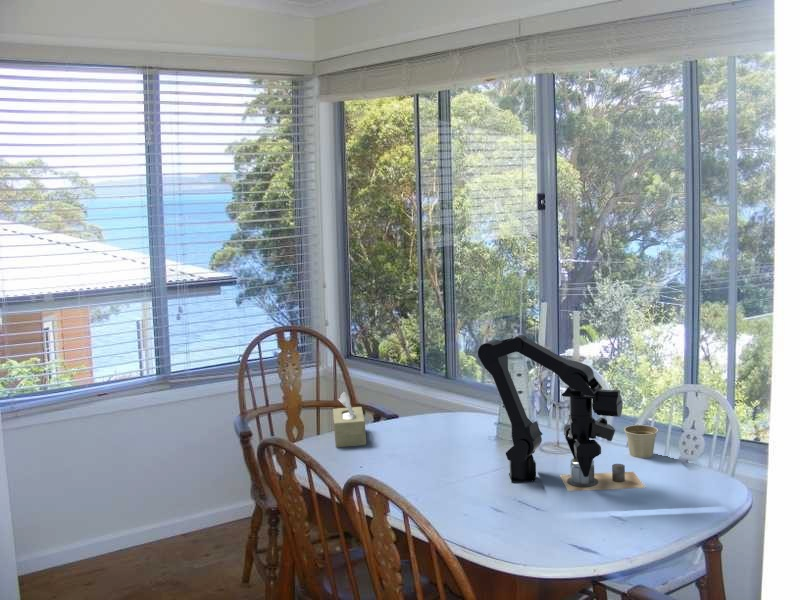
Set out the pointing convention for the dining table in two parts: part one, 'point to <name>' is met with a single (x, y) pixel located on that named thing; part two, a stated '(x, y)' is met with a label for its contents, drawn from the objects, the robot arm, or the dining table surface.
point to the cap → (578, 475)
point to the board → (607, 480)
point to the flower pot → (641, 440)
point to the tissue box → (349, 424)
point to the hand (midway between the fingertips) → (582, 470)
